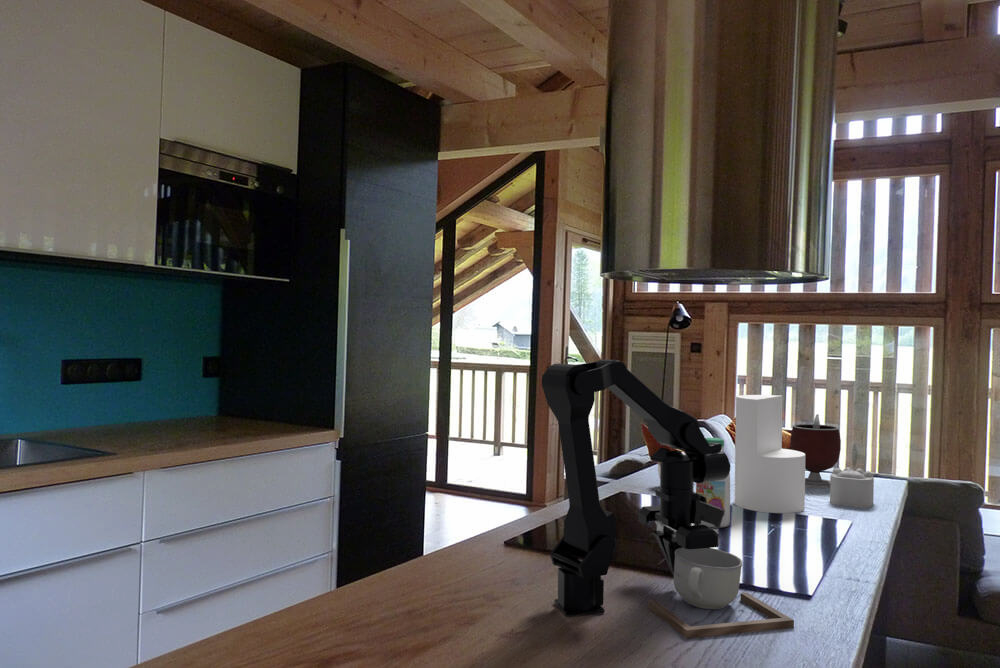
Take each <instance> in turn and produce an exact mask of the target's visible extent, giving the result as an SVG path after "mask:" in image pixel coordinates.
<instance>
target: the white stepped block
mask: <svg viewBox="0 0 1000 668" xmlns="http://www.w3.org/2000/svg"><path fill="white" fill-rule="evenodd" d="M734 430H735V434H734V435H735V438H734V440H735V441H734V451H735V452H734V455H735V456H734V501H733V502H734V505H735V506H736V507H739V508H741V509H745V510H749V511H755V512H762V513H768V514H769V513H770V514H772V513H773V514H793V513H799V512H803V511H804V510H805V507H806V504H805V503H806V500H805V499H806V498H805V497H806V487H805V478H806V469H805V453H803V452H799V451H795V450H791V449H788V448H783V395H777V394H776V395H775V394H741V395H740V394H739V395H736V396H735V429H734Z"/></svg>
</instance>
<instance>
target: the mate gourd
mask: <svg viewBox="0 0 1000 668" xmlns="http://www.w3.org/2000/svg"><path fill="white" fill-rule="evenodd" d="M819 416H820V415H819V414H816V415H815V416H814V419H813V423H798V424H792V428H791V433H790V445H789V446H790V450H795V451H799V452H803V453H805V471H808V472H809V474H808V477H805V488H813V489H830V480H828V479H825V478H824V479H823V478H822V476H821V473H822V472H824V471H827V470H829V469H833V468H834V466H835V465H836V464H837V463H838V462H839V459H840V455H841V450H842V447H841V446H842V444H841V443H842V440H841V433H840V428H839V427H837V426H835V425H834V426H833V425H826V424H820V423H821V422H820V421H821V420H820V417H819Z"/></svg>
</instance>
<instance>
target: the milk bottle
mask: <svg viewBox="0 0 1000 668" xmlns="http://www.w3.org/2000/svg"><path fill="white" fill-rule="evenodd" d="M705 439H706V440H707V442H708V443H712V442H714V443H720V444H721V445H722V451H723V452H724V449H725V448H724V447H725V439H723V438H720V437H705ZM695 493H697V494H699V495H702V496H704V497H706V500H707V503H708V504H711V505H713V506H716V507H718V508H720V509H723V510H725V513H724V516H723V519H722V522H721V525H720V527H716V526H714V525H713V524H710V523H707V522H704V521H701V524H698V525H705V526H707V527H710V528H716V529H717V528H727V527H729V526H730V524H731V523H730V522H731V473H729V475H728V476H727V478H725V479H723V480H718V481H712V482H705V483H695Z"/></svg>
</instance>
